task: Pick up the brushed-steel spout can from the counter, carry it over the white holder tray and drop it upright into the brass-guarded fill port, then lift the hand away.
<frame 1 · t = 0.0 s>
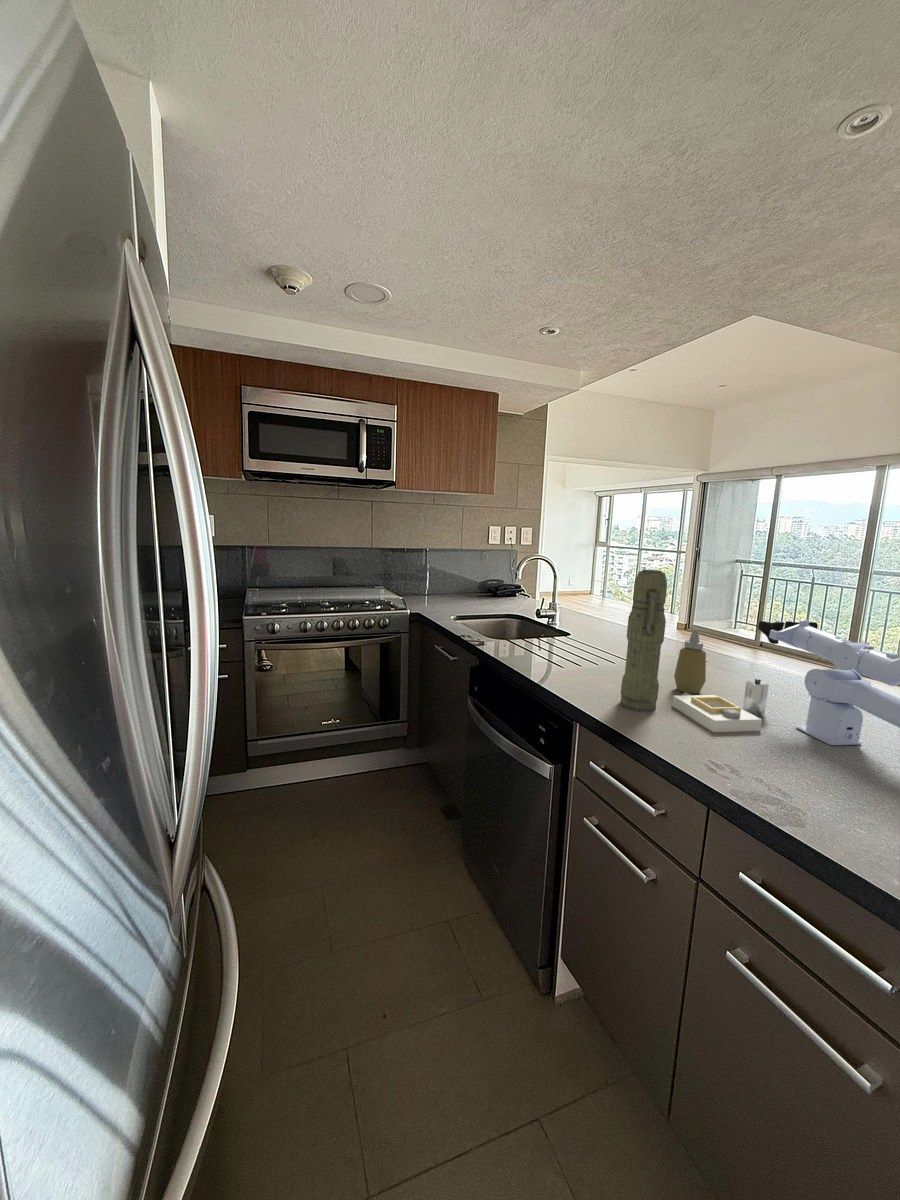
hand: (772, 625, 128), 22 cm above the worktop, tool horizontal, fingers open, 7 cm apart
squeeze bottle: (688, 691, 140), on the worktop
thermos: (637, 705, 128), on the worktop
white holder tray: (713, 717, 121), on the worktop
spout can: (753, 713, 125), on the worktop
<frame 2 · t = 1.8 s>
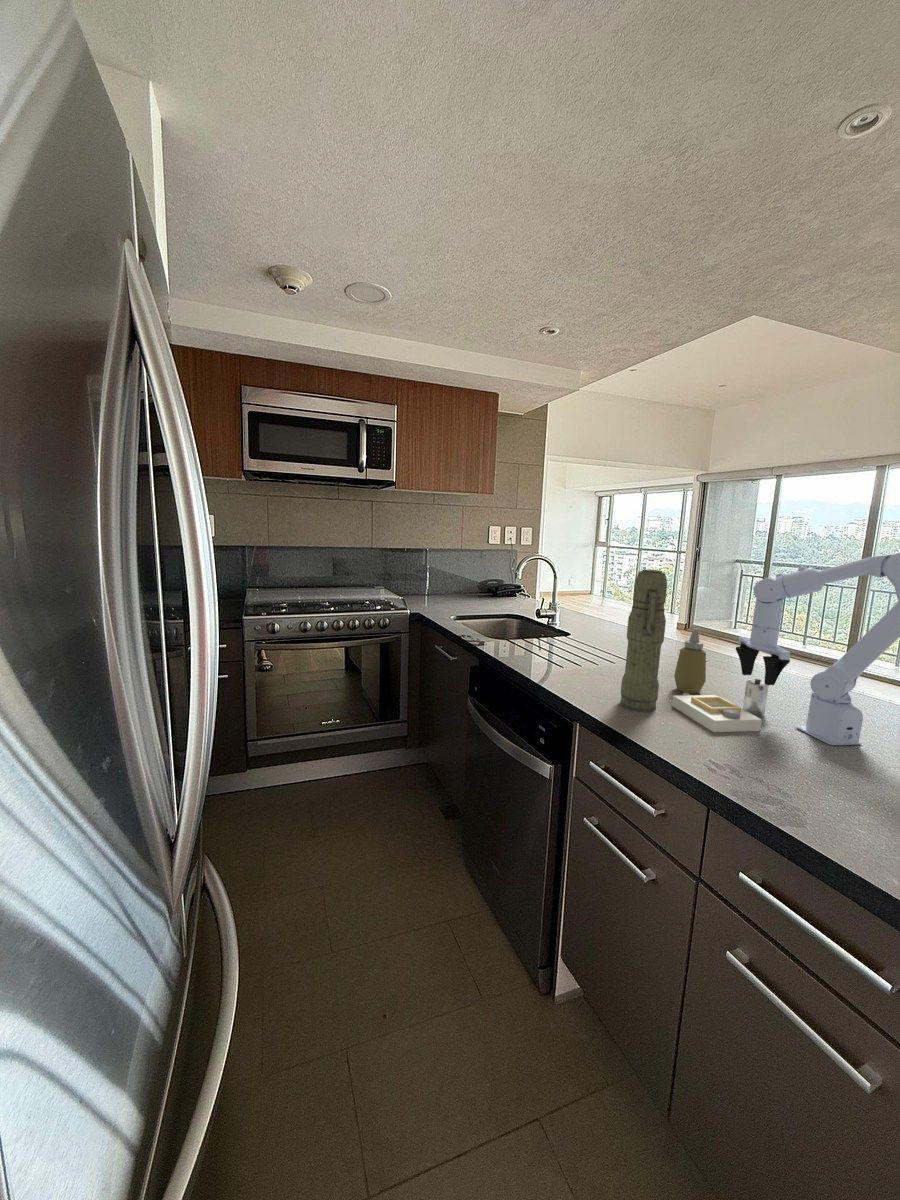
hand: (757, 679, 123), 9 cm above the worktop, tool pointing down, fingers open, 7 cm apart
nothing on the worktop moved.
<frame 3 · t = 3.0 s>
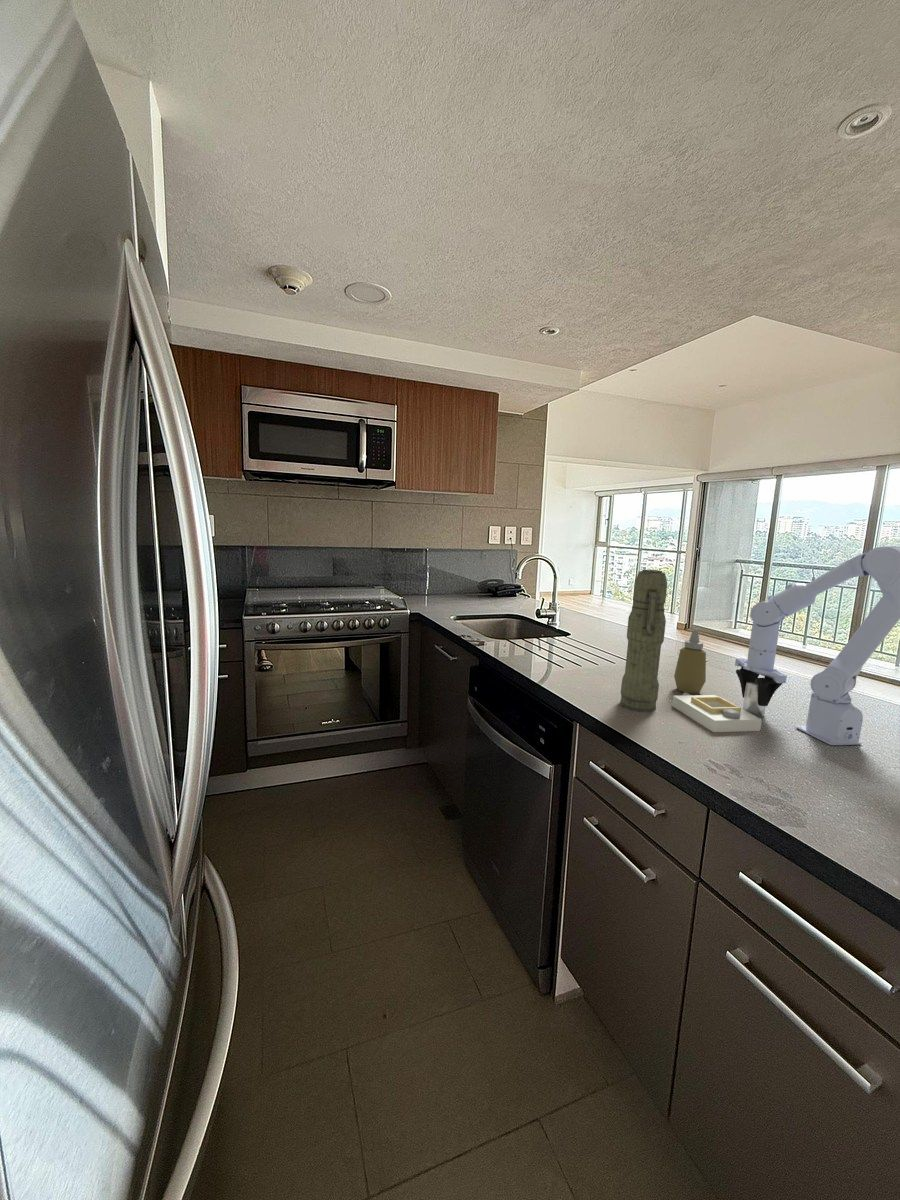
hand: (754, 701, 124), 3 cm above the worktop, tool pointing down, fingers closed on spout can, 5 cm apart
spout can: (753, 713, 125), on the worktop, touching gripper
everything else where it was.
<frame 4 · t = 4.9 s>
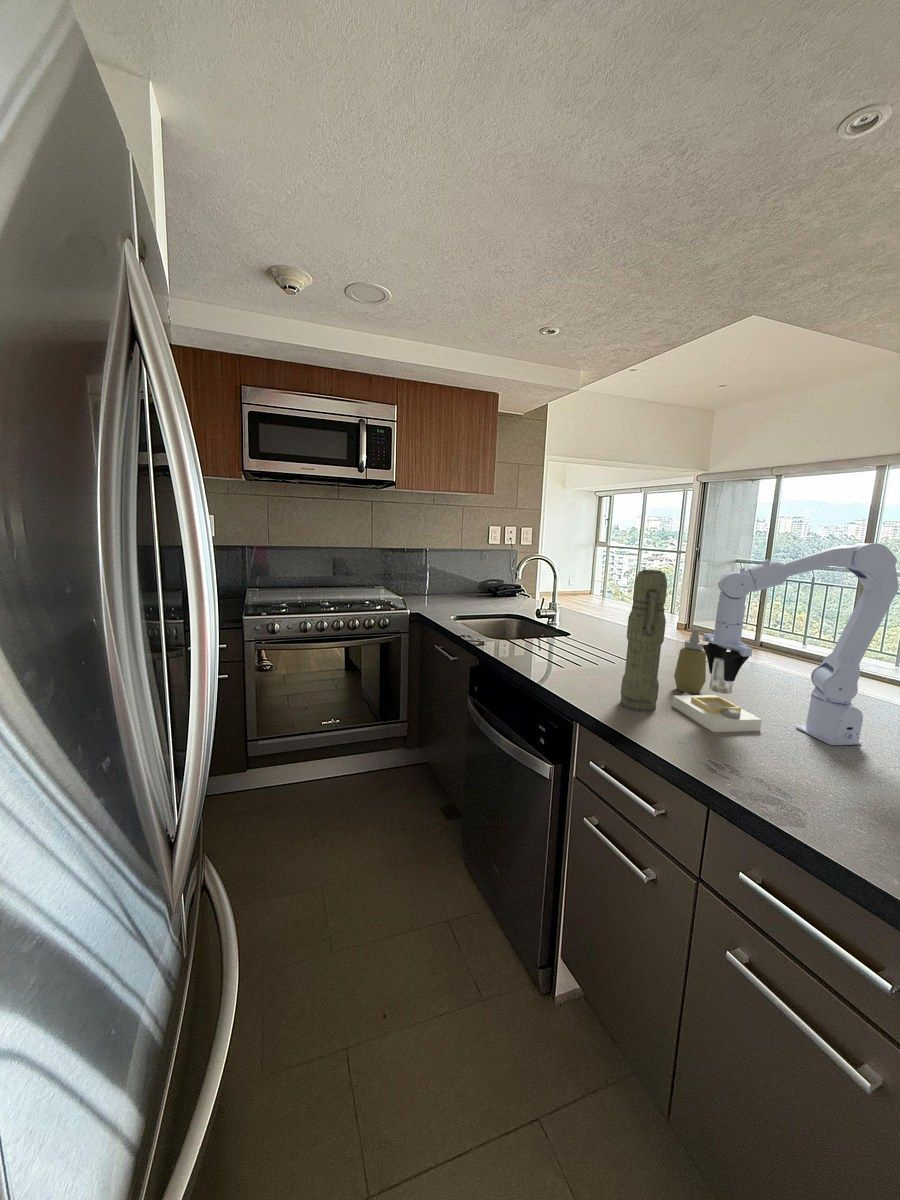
hand: (721, 677, 120), 10 cm above the worktop, tool pointing down, fingers closed on spout can, 5 cm apart
spout can: (720, 690, 120), point 7 cm above the worktop, touching gripper
everything else where it was.
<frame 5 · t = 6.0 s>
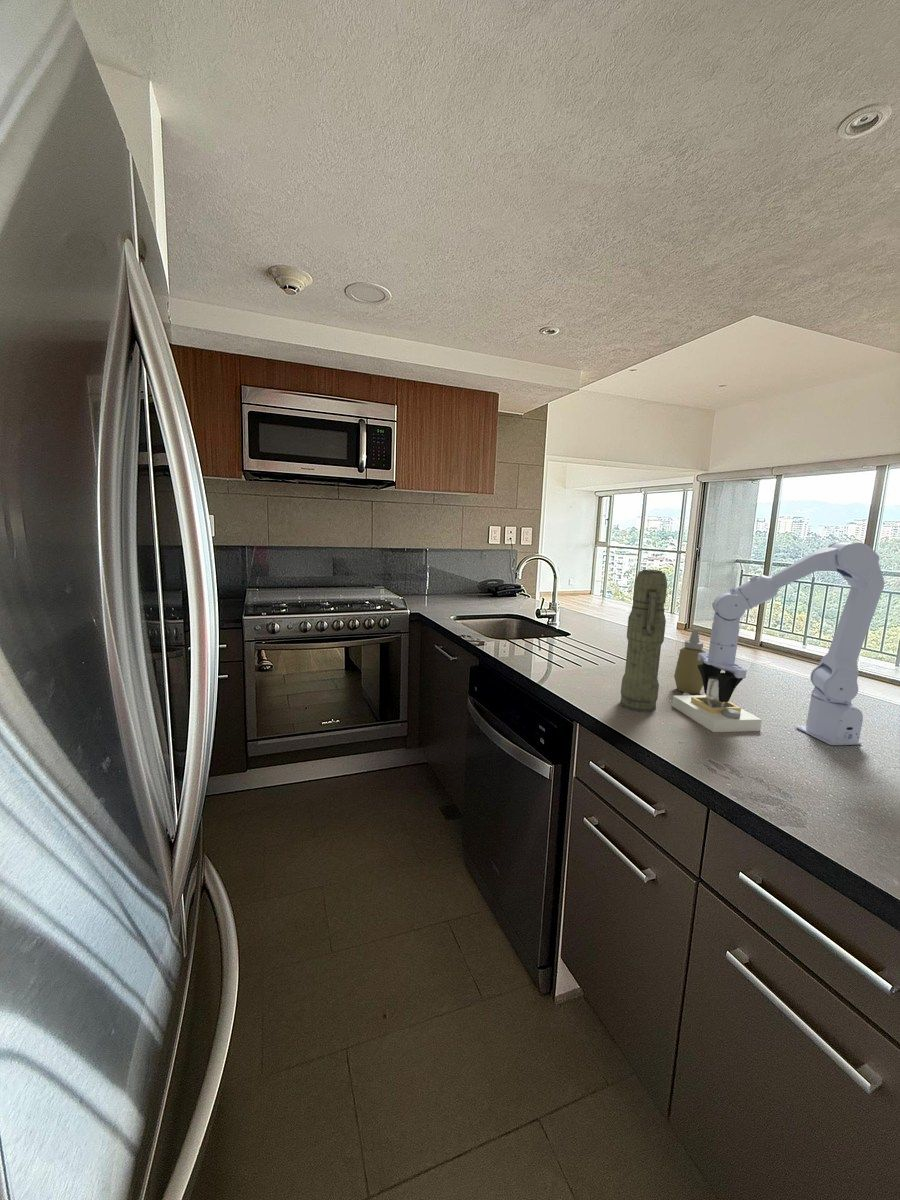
hand: (716, 697, 120), 5 cm above the worktop, tool pointing down, fingers closed on spout can, 5 cm apart
spout can: (715, 710, 121), point 2 cm above the worktop, touching gripper
everything else where it was.
when the fingers open (5 cm above the worktop, at t = 6.8 s): spout can drops 2 cm, resting in white holder tray.
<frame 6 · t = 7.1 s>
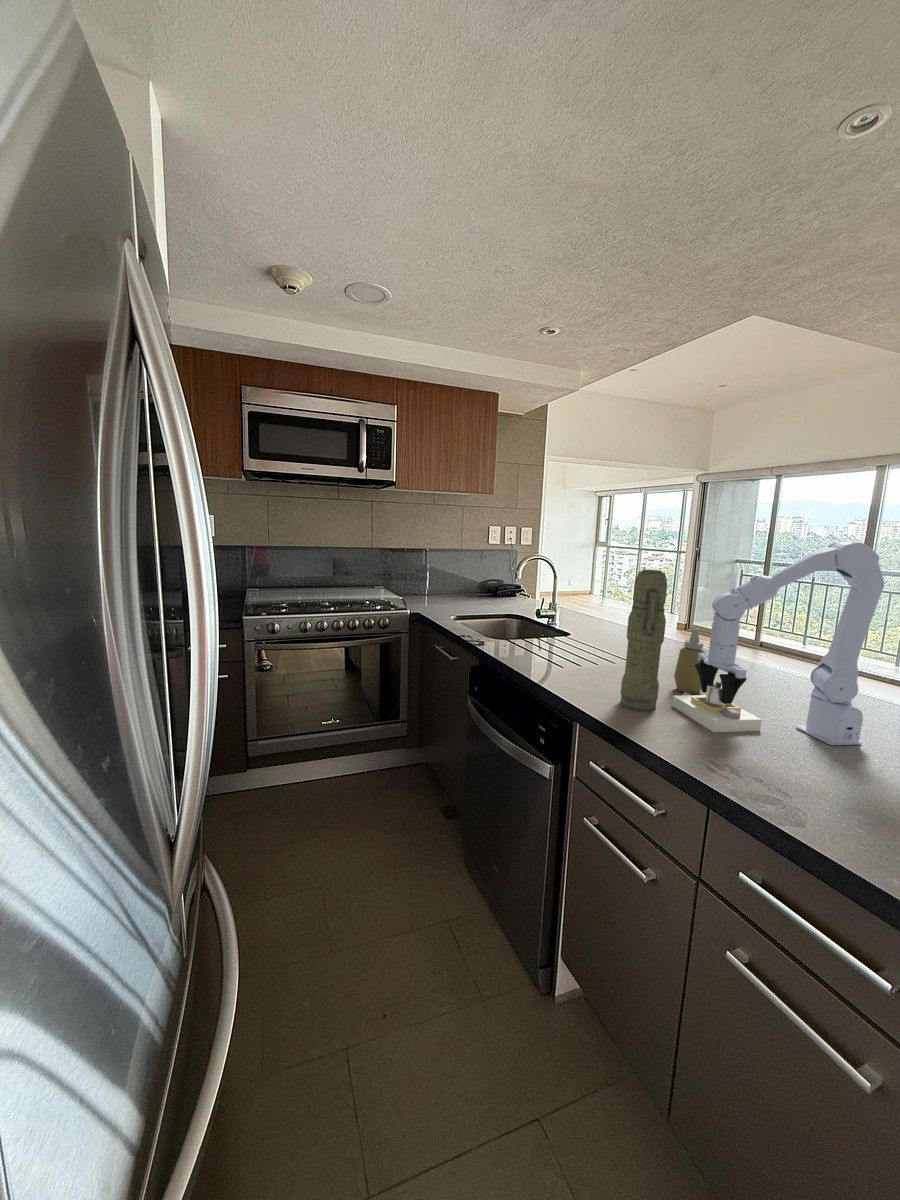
hand: (716, 697, 120), 5 cm above the worktop, tool pointing down, fingers open, 7 cm apart
spout can: (714, 717, 121), resting in white holder tray
everything else where it was.
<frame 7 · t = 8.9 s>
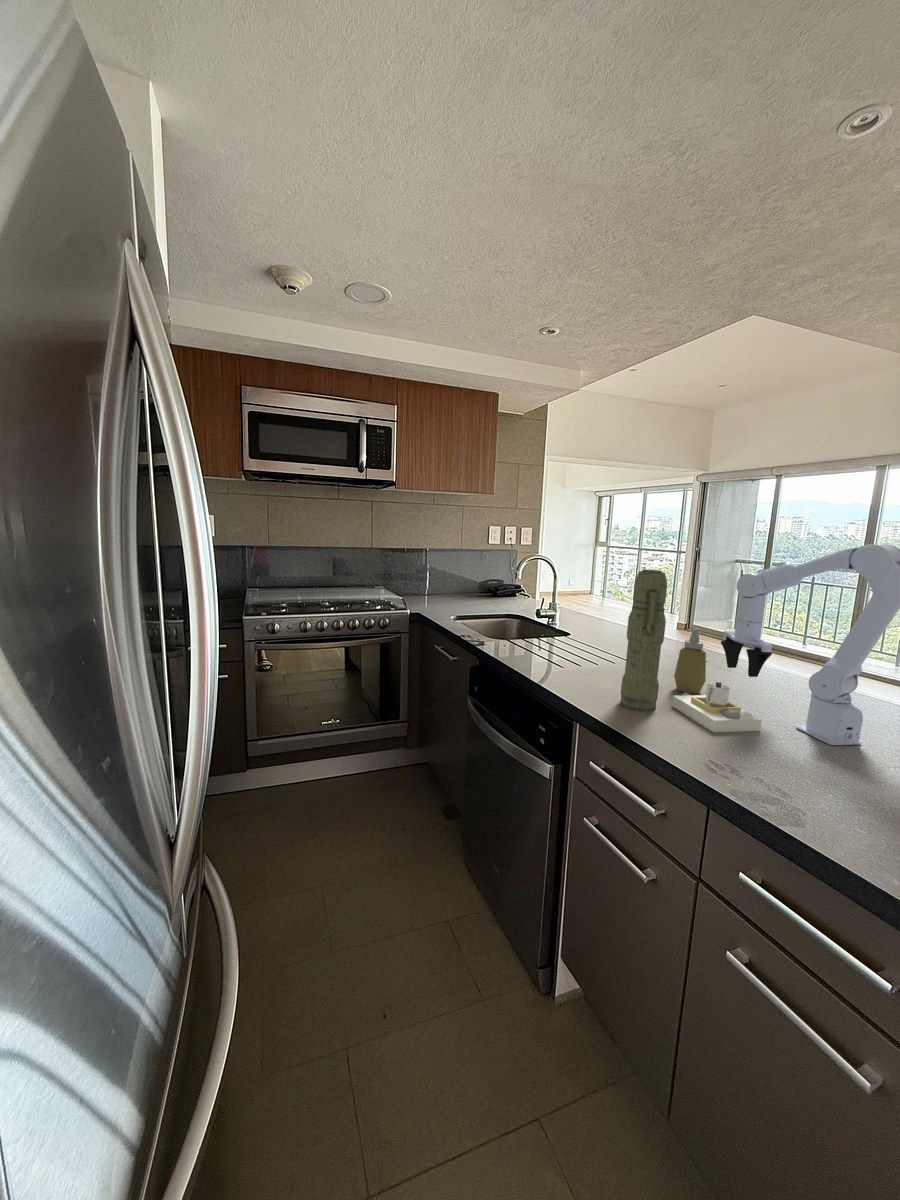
hand: (741, 671, 128), 9 cm above the worktop, tool pointing down, fingers open, 7 cm apart
nothing on the worktop moved.
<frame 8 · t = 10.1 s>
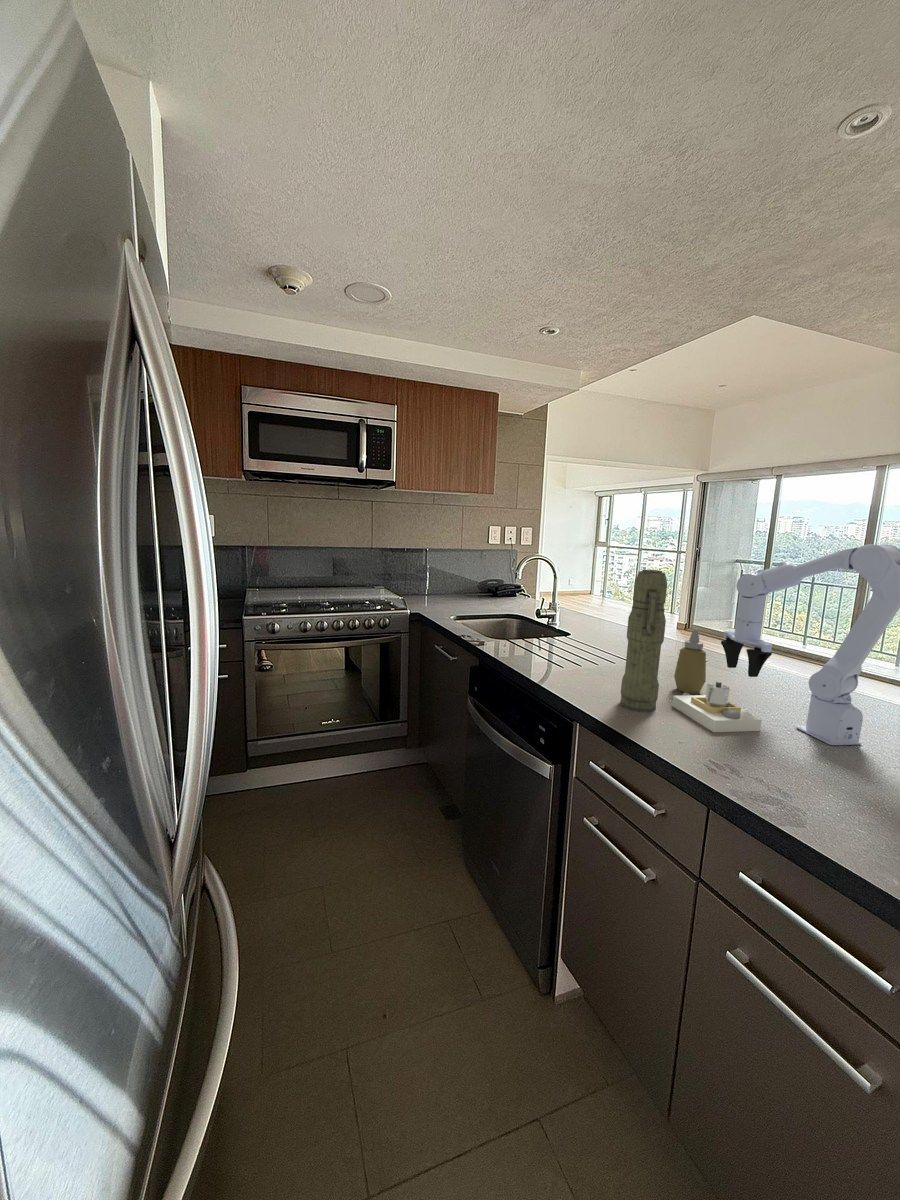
hand: (741, 671, 128), 9 cm above the worktop, tool pointing down, fingers open, 7 cm apart
nothing on the worktop moved.
at the end: spout can 0.2 cm off-centre on the white holder tray, point 0.0 cm above the white holder tray's base; spout can tilted 0°; the gripper is holding nothing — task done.
